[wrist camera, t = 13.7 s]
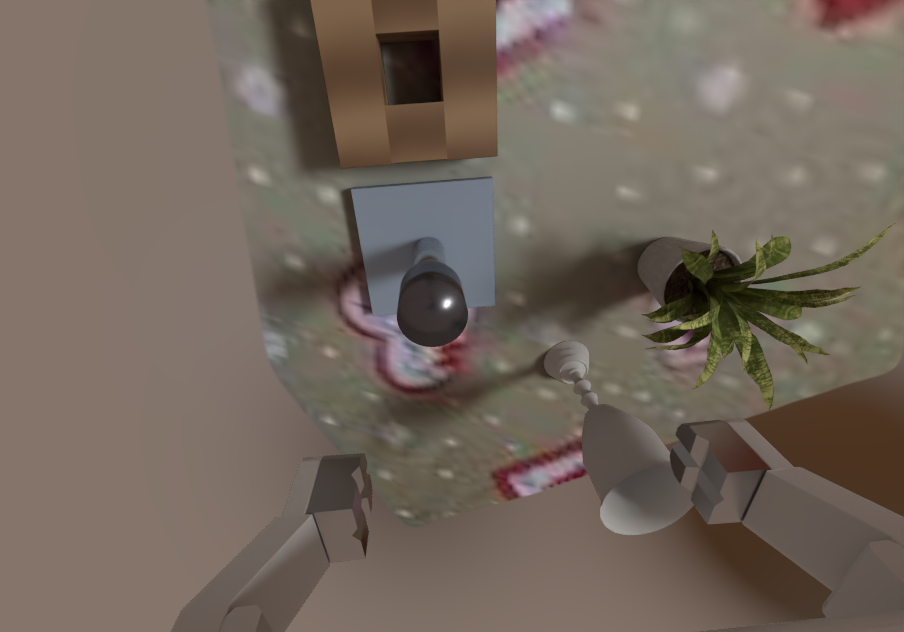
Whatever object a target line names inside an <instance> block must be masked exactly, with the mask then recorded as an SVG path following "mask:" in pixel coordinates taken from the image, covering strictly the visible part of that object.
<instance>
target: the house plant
mask: <svg viewBox="0 0 904 632" xmlns="http://www.w3.org/2000/svg"><path fill="white" fill-rule="evenodd" d="M894 224H895V223H894ZM891 226H892V225H891ZM891 226H890V227H891ZM890 227H888V228H887V229H886V230H885V231H883V232H882V233H881V234H880V235H878V236H877V237H876V238H874V239H873V240H871V241H870V242H869V243H867V244H866V245H865V246H863V247H862V248H860V249H859V250H857V251H855V252H854V253H852V254H850V255H848V256H846V257H844V258H843V259H841V260H839V261H836V262H834V263H831V264H828V265H826V266H823V267H820V268H816V269H812V270H807V271H802V272H797V273H792V274H788V275H784V276H779V277H774V278H768V279H763V280H756V281H754V280H755V279H757V278H758V277H760V276H761V275H762V274H763V272H764V271H765V270H766V269H767V268H770V267H772V266H774V265H776V264H778V263H780V262H782V261H783V260H784V259H786V258H787V257H788V256H789V253H790V251H791V244H790V240H789V237H788V235H786V236H782V237H775V238H773V236H771V240H770V241H769V242H768V243H766V244H765V245H764V246H763V247H762V248H761V247H760V246H759V245H758V243H757V238H756V254H755V255H754V256H753V257H752V258H751V259H750V260H749V261H747V262H744V263H742V261H741V259H740V258H739V256H738V255H737V254H736V253H735V252H733V251H732V250H730V249H729V248H725V247H721V246H719V245H718V240H717V236H716V234H715V233H714V232H713V231H712V244H706V243H701V242H696V241H691V240H686V239H681V238H676V237H665V238H661V239H658V240H656V241H654V242H653V243H651V244H650V245H649V246H648V247H647V248H646V249H645V250H644V251H643V253H642V254H641V256H640V258H639V261H638V266H637V269H638V274H639V277H640V279H641V280H642V281H643V283H644V284H645V285H646V287H647V288H648V289H649V291H650V292H651V293H652V295H653V296H654V297H655V299H656V300H657V301H658V303H659V304H660V305H661V306H662V307H661V308H660V309H658V310H657V311H655V312H652V313H650V314H641V315H644V316H647V317H649V318H650V320H649V321H655V322H657V323H668V322H672V321H674V320H677V321H680V322H683V323H681V324H679V325H677V326H674V327H671V328H667V329H663V330H660V331H658V332H655V333H653V334H650V335H643V336H645V337H647V338H649V339H650V340H652V341H654V342H659V343H668V342H671V341H674V340H676V339H678V338H679V337H681V336H683V335H684V334H686V333H687V332H688V331H689V330H690V329H694V334H693V337H692V338H691V340H690V341H689V342H687V343H686V344H683V345H671V346H659V347H652V348H646V349H667V350H677V349H685V348H688V347H691V346H693V345H695V344H696V343H698V342H699V341H701V340H702V339H704V338H705V337H707V336H708V335H709V333H710V331H711V330H712V332H711V337H710V342H709V345H708V348H707V362H706V367H705V369H704V371H703V373H702V374H701V376H700V378H699V380H698V382H697V384H696V386H695V388H697V387H699V386H700V385H702V384H703V383H704V382H706V381H707V380H708V379H709V378H710V376H711V375H712V373H713V372H714V370H715V368H716V366H717V362H718V361H719V360H721V358H722V357H723V358H725V357H726V356H727V355H728V354H730V353H731V352H732V350H733V347H734V343H735V345H736V347H737V349H738V351H739V353H740V355H741V358H742V363H743V371H744V370H745V368H746V371H747V373H748V374H749V375H750V376H751V377H752V379H753V380H754V381H755V382H756V383H757V384H758V385H759V387H760V389H761V392H762V395H763V398H764V400H765V402H766V403H767V405H768V406H769V410H770V408H771V406H772V402H773V395H774V387H773V381H772V376H771V373H770V370H769V368H768V365H767V362H766V360H765V357H764V354H763V351H762V348H761V346H760V344H759V342H758V340H757V338H756V337H755V336H754V335H753V334H752V333H751V330H750V326H749V324H748V322H747V320H748V321H749V322H751V323H752V324H754V325H755V326H757V327H759V328H760V329H762V330H763V331H765V332H767V333H768V334H769V335H771V336H772V337H774V338H775V339H777V340H779V341H781V342H783V343H785V344H787V345H790V346H791V347H792V348H793V349H794V350H795V352H796V353H797V354H798V355H799V356H801V357H802V358H803V359H804V360H805V361H806V363H807V359H806V357H805V355H804V353H803V351H802V350H804V351H808V352H812V353H819V354H824V355H830V354H828V353H826V352H825V351H824V350H822V349H821V348H818V347H816V346H813V345H811V344H809V343H808V342H807V341H806V340H805V339H803V338H802V337H800V336H798V335H796V334H794V333H792V332H790V331H788V330H785V329H784V328H782V327H780V326H778V325H777V324H775V323H774V322H772V321H771V320H769V319H768V318H767V317H765V316H764V315H762V314H761V313H759V312H758V311H760V312H763V313H765V314H768V315H771V316H774V317H776V318H780V319H783V320H793V319H797V318H799V317H801V314H802V307H811V308H816V307H823V306H828V305H832V304H835V303H839V302H842V301H845V300H847V299H849V298H851V297H853V296H850V297H846V298H841V299H837V300H831V301H823V300H828V299H833V298H837V297H840V296H843V295H846V294H848V293H850V292H852V291H854V290H856V289H858V288H860V287H861V286H860V287H858V288H842V289H837V290H818V289H816V290H806V291H788V292H786V291H777V290H766V289H755V288H747V287H748V286H749V285H750V284H762V283H769V282H776V281H781V280H787V279H793V278H799V277H805V276H810V275H815V274H819V273H824V272H828V271H831V270H834V269H836V268H839V267H842V266H845V265H847V264H848V263H850V262H852V261H853V260H855V259H856V258H858V257H859V256H861V255H862V254H863V253H864V252H866V251H867V250H868V249H869V248H870V247H872V246H873V245H874V244H875V243H876V242H878V241H879V240H880V239H881V238H882V237H883V236H884V234H885V233H886V232H887V231H888V229H889V228H890ZM753 276H754V280H752V281H748V282H743V280H745V279H747V278H750V277H753ZM854 296H856V295H854ZM817 301H820V302H817ZM756 310H757V311H756ZM720 351H721V353H722V354H723V355H722V356H721V357H720V358H719V355H720ZM723 358H722V359H723ZM742 373H743V372H742ZM693 389H694V388H693Z"/></svg>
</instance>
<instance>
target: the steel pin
mask: <svg viewBox="0 0 904 632" xmlns="http://www.w3.org/2000/svg"><path fill="white" fill-rule="evenodd" d="M467 319H468V310H467V305H466V301H465V297H464V293H463V289H462V284H461V281H460V279H459V277H458V275H457V274H456V272H455V271H454V270H453V269H452V268H450V267H449V266H447V264H446V258H445V252H444V247H443V245H442V243H441V242H440V241H439V240H438V239H436V238H434V237H424V238H421V239H420V240H419V241H417V243H416V244H415V246H414V251H413V267H412V268H411V269H409V270H408V271H407V272H406V274H405V275H404V277H403V279H402V281H401V285H400V292H399V300H398V308H397V321H398V325H399V328H400V329H401V331H402V333H403V334H404V335H405V336H406V337H407V338H408V339H409V340H411V341H412V342H414V343H416V344H419V345H422V346H427V347H437V346H442V345H445V344H448V343H450V342H452V341H453V340H455V339H456V338H457V337H458V336H459V335H460V334H461V333H462V332H463V330H464V328H465V326H466V323H467Z"/></svg>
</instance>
